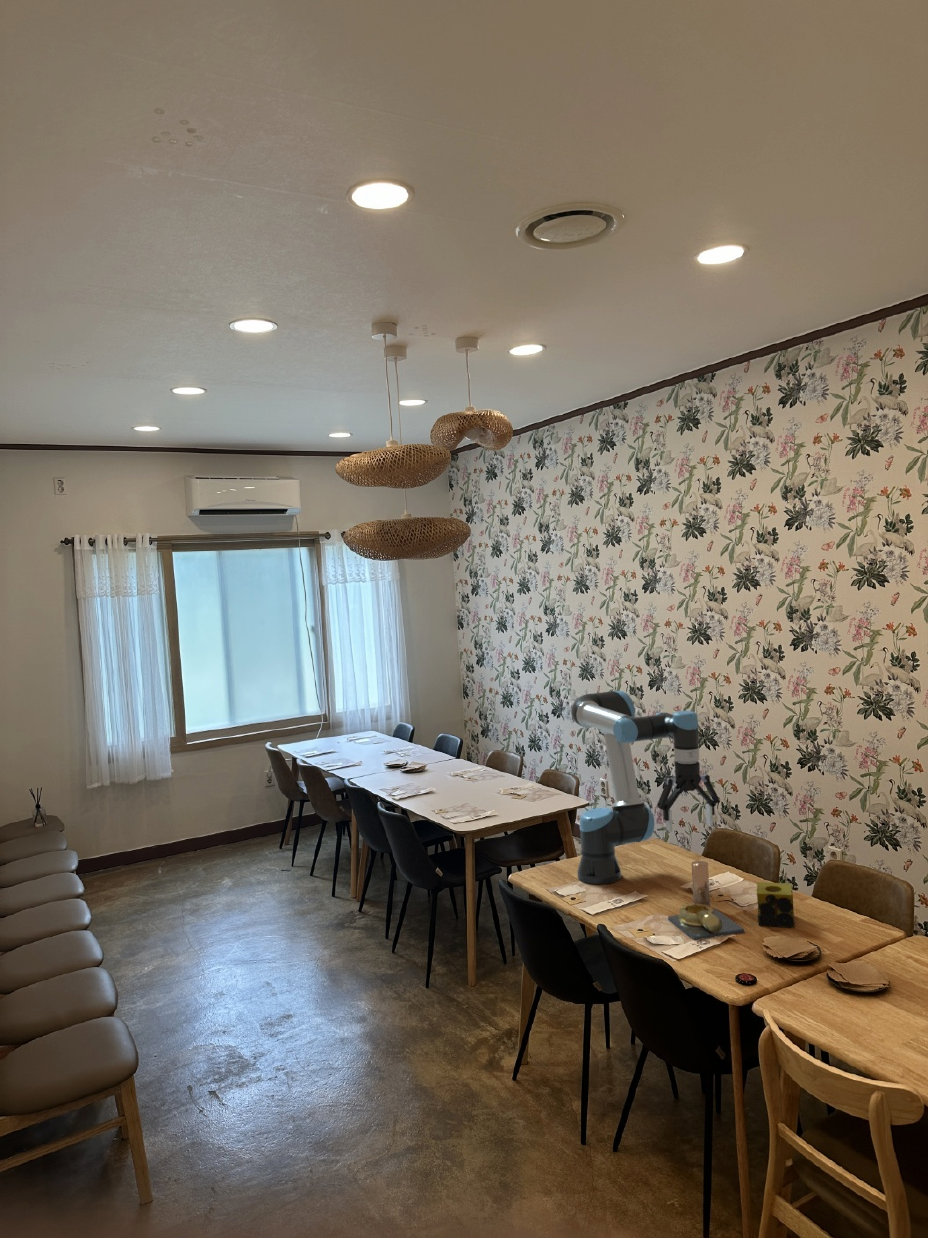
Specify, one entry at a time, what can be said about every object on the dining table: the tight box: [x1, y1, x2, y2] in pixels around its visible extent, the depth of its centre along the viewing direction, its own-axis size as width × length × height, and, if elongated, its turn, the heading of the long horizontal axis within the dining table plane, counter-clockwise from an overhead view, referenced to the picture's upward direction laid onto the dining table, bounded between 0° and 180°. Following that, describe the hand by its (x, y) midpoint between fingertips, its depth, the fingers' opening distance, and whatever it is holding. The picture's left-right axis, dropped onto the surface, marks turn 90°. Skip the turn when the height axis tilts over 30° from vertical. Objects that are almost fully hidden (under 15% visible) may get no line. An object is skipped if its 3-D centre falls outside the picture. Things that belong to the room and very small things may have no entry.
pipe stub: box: [691, 860, 711, 907], centre depth 264 cm, size 5×5×14 cm
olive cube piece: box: [756, 881, 795, 929], centre depth 251 cm, size 10×10×10 cm
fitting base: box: [667, 902, 745, 941], centre depth 251 cm, size 16×16×5 cm
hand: (689, 828), depth 265 cm, fingers open, 13 cm apart
